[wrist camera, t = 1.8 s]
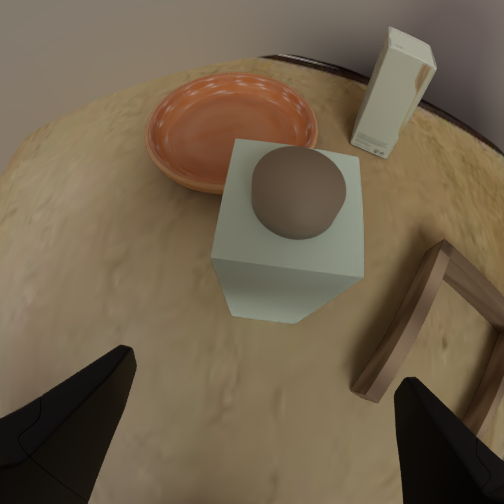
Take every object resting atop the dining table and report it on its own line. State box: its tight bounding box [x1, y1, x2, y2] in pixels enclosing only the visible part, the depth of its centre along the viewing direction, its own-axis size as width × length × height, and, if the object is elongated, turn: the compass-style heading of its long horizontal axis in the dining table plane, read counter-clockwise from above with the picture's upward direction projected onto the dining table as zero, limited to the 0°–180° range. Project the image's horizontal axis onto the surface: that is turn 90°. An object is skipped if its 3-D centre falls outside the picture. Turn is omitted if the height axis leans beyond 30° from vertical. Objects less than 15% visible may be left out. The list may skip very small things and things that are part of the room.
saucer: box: [145, 72, 318, 194], centre depth 25 cm, size 16×16×3 cm
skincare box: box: [350, 27, 437, 159], centre depth 21 cm, size 6×4×12 cm
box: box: [350, 239, 504, 441], centre depth 18 cm, size 14×14×3 cm
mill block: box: [210, 139, 364, 324], centre depth 15 cm, size 5×5×14 cm
